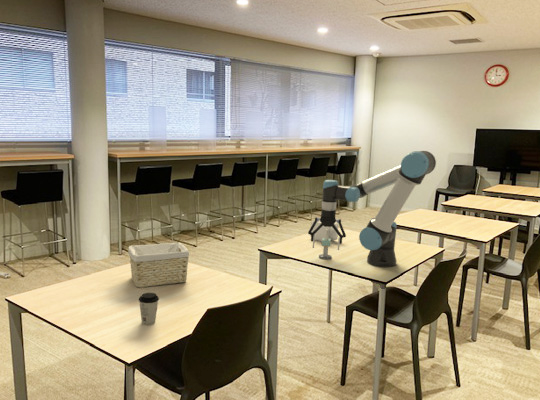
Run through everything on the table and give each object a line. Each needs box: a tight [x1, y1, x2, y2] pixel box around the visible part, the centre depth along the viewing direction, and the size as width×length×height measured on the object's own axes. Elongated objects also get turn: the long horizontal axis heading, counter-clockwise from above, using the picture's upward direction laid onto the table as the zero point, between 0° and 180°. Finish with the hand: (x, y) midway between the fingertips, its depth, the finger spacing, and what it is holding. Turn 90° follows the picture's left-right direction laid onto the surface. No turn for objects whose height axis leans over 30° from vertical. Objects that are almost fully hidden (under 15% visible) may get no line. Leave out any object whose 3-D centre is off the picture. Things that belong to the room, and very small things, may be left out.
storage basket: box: [127, 242, 190, 288], centre depth 211 cm, size 24×16×15 cm
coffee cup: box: [138, 292, 160, 326], centre depth 169 cm, size 7×7×10 cm
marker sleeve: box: [321, 238, 332, 247], centre depth 257 cm, size 4×4×3 cm
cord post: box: [318, 229, 332, 261], centre depth 258 cm, size 7×7×16 cm
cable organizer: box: [309, 220, 339, 243], centre depth 296 cm, size 15×11×12 cm
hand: (325, 248), depth 258 cm, fingers open, 13 cm apart
